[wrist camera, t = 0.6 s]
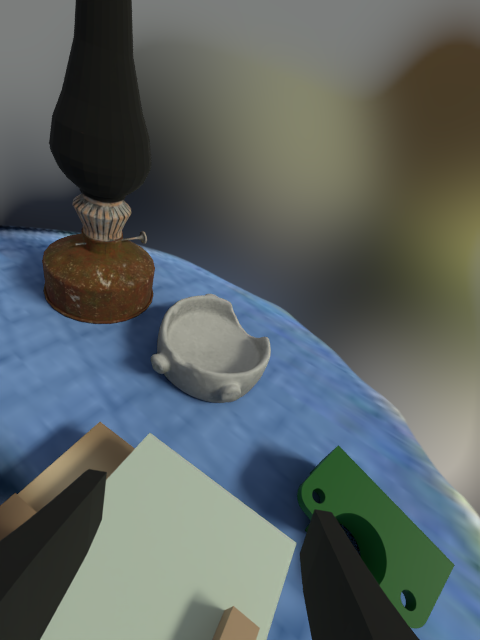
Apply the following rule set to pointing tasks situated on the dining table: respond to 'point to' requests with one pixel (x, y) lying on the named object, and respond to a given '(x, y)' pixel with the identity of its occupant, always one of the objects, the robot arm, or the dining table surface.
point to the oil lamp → (100, 171)
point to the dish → (209, 350)
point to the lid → (174, 559)
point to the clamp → (379, 535)
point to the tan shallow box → (77, 465)
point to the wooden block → (13, 514)
